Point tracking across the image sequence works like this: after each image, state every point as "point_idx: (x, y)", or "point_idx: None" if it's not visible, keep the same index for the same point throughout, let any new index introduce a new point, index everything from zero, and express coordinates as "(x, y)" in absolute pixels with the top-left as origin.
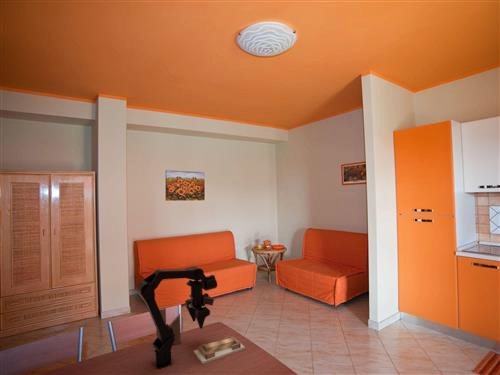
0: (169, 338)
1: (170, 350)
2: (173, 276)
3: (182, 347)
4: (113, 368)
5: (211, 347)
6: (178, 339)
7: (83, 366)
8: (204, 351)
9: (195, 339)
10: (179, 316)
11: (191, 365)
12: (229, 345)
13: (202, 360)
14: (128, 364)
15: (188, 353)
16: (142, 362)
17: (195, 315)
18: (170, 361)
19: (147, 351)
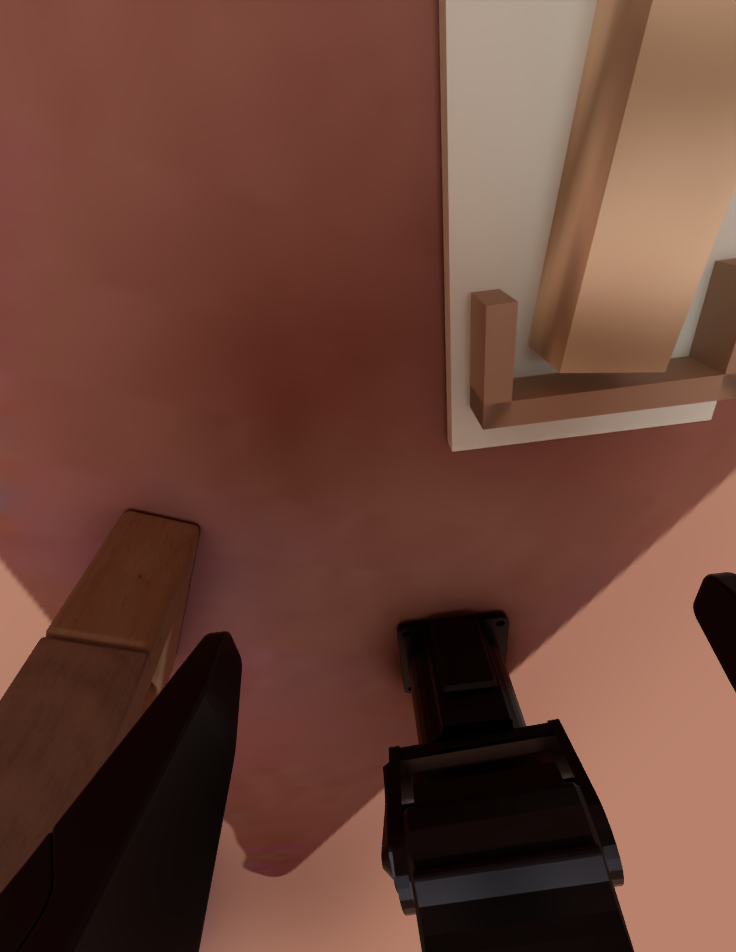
0: (620, 879)
1: (562, 728)
2: None
3: (282, 513)
4: (353, 799)
5: (688, 288)
6: (187, 568)
7: (274, 859)
8: (655, 392)
9: (140, 357)
10: (2, 878)
11: (628, 497)
12: None
13: (687, 415)
14: (351, 764)
15: (424, 485)
16: (368, 723)
17: (167, 784)
18: (481, 620)
19: (239, 705)
